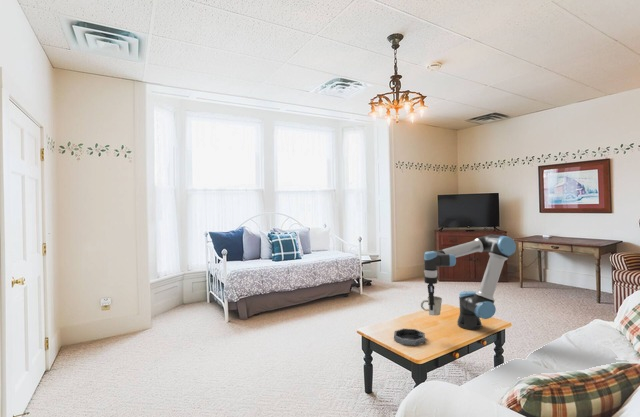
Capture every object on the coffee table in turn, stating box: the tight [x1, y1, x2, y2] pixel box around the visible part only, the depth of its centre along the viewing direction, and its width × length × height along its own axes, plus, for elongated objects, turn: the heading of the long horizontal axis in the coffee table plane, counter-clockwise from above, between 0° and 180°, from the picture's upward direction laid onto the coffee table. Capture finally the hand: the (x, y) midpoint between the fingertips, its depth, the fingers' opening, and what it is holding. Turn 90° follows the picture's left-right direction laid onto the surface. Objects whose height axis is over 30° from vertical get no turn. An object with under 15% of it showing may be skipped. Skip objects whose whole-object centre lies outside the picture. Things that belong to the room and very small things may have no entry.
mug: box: [420, 295, 443, 317], centre depth 209 cm, size 8×13×10 cm, turn 79°
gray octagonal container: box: [393, 328, 426, 347], centre depth 208 cm, size 18×18×3 cm
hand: (431, 313), depth 209 cm, fingers closed on mug, 6 cm apart
